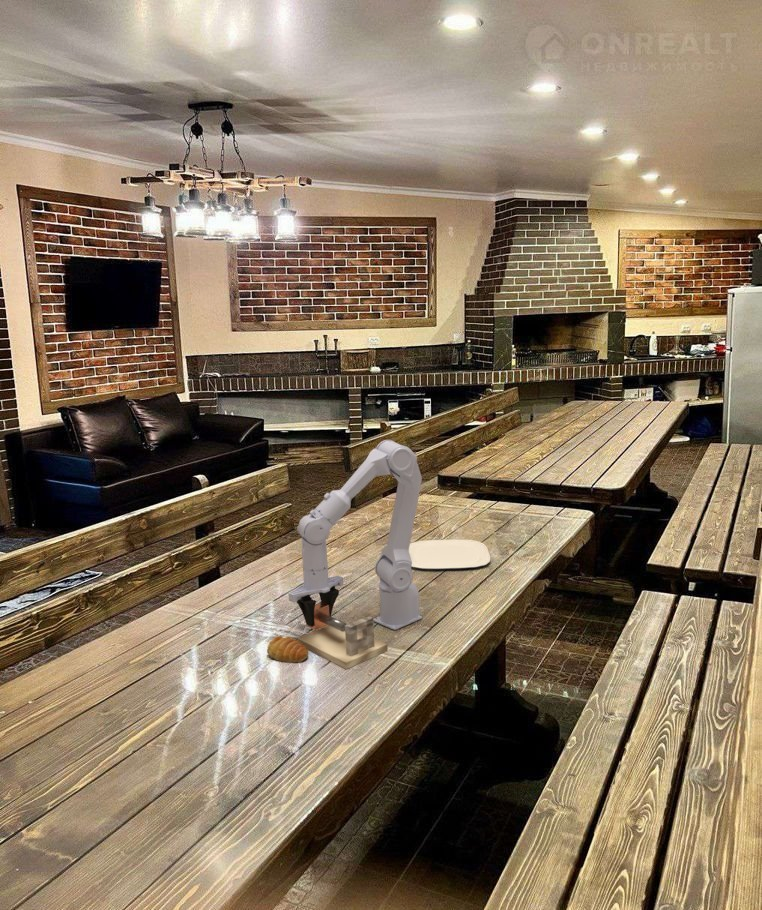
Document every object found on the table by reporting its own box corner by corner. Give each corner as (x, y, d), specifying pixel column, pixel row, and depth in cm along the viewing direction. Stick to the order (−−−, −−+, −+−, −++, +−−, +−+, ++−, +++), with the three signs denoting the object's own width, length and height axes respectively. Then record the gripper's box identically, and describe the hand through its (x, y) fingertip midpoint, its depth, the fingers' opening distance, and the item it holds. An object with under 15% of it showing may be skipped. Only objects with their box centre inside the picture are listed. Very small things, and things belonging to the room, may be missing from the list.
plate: (494, 571, 217) (494, 566, 217) (405, 574, 218) (405, 568, 218) (484, 543, 242) (484, 538, 242) (404, 545, 243) (404, 540, 242)
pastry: (315, 655, 170) (314, 639, 170) (296, 668, 165) (295, 651, 164) (283, 646, 175) (282, 630, 175) (263, 658, 170) (262, 642, 169)
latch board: (337, 627, 183) (336, 595, 182) (387, 650, 171) (386, 616, 169) (297, 644, 176) (295, 610, 174) (346, 669, 163) (344, 633, 161)
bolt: (323, 621, 181) (322, 602, 180) (351, 634, 173) (350, 614, 172) (308, 627, 178) (307, 607, 177) (336, 640, 170) (335, 620, 169)
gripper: (300, 579, 168) (303, 637, 171) (350, 562, 177) (353, 617, 180) (281, 572, 173) (285, 627, 176) (331, 555, 183) (334, 609, 185)
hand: (318, 622), depth 178 cm, fingers closed on bolt, 4 cm apart
